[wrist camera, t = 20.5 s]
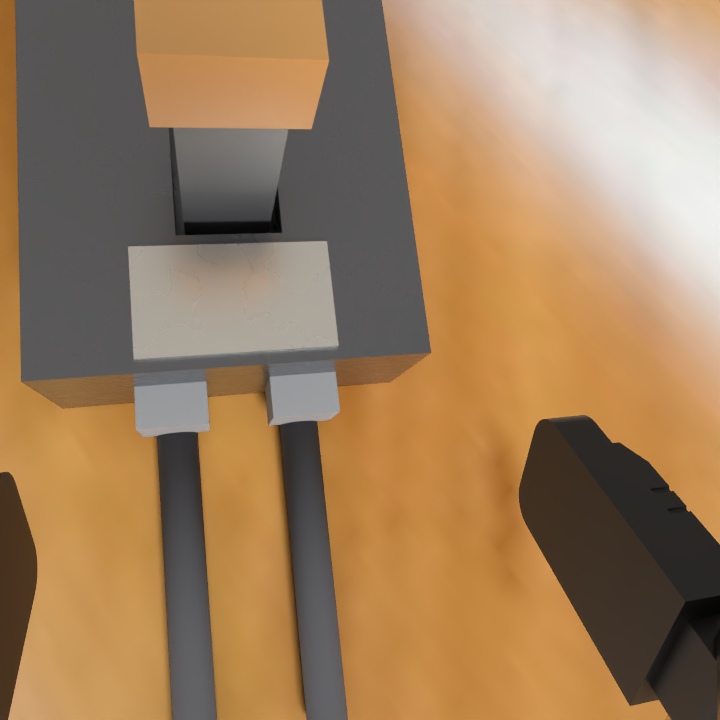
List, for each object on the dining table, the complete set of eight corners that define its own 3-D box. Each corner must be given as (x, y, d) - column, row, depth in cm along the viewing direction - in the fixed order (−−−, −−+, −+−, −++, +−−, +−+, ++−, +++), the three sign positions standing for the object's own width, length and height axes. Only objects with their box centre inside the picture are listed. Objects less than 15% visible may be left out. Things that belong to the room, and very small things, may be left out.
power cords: (144, 401, 28) (133, 386, 24) (321, 387, 29) (335, 371, 26) (162, 753, 25) (154, 792, 21) (356, 714, 27) (377, 745, 23)
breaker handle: (168, 186, 28) (129, -83, 15) (270, 185, 29) (313, -67, 16) (173, 265, 28) (137, 53, 15) (277, 261, 29) (329, 60, 16)
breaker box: (49, -85, 31) (10, -222, 26) (333, -62, 35) (358, -178, 29) (62, 408, 27) (19, 380, 21) (389, 381, 30) (432, 351, 24)
